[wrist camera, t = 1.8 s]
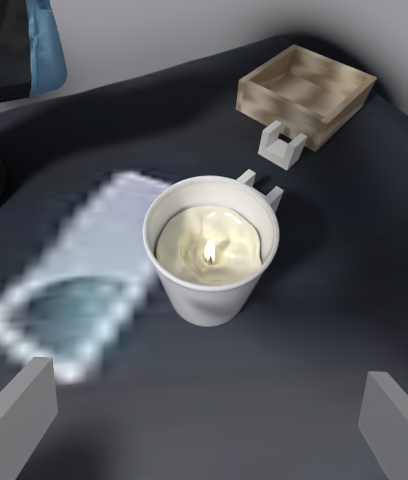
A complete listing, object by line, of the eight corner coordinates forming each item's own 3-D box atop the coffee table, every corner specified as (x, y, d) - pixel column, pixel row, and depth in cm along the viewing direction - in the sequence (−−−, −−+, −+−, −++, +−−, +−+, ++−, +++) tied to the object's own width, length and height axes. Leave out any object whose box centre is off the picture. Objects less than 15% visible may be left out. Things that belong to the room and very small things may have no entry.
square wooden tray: (235, 109, 47) (239, 80, 43) (286, 72, 53) (293, 44, 49) (315, 152, 42) (327, 123, 38) (362, 106, 48) (377, 77, 44)
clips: (212, 192, 38) (213, 169, 34) (270, 143, 43) (275, 119, 40) (261, 226, 35) (268, 205, 32) (316, 169, 40) (327, 146, 37)
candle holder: (251, 251, 33) (274, 177, 23) (255, 338, 28) (286, 294, 18) (167, 246, 33) (153, 172, 23) (155, 332, 28) (130, 285, 18)
